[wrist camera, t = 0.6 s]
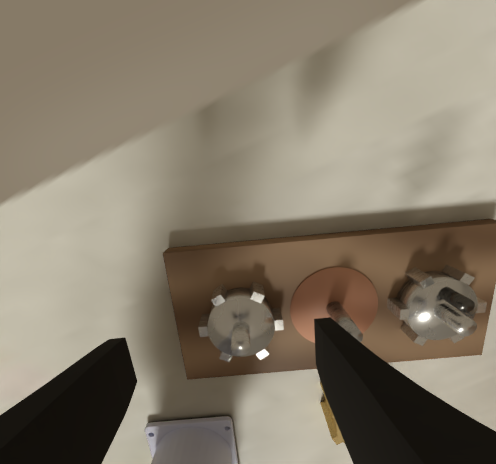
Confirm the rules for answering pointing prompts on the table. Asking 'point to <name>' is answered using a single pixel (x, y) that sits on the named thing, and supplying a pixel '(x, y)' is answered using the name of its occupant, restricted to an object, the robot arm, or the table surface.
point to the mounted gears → (403, 307)
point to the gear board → (328, 290)
